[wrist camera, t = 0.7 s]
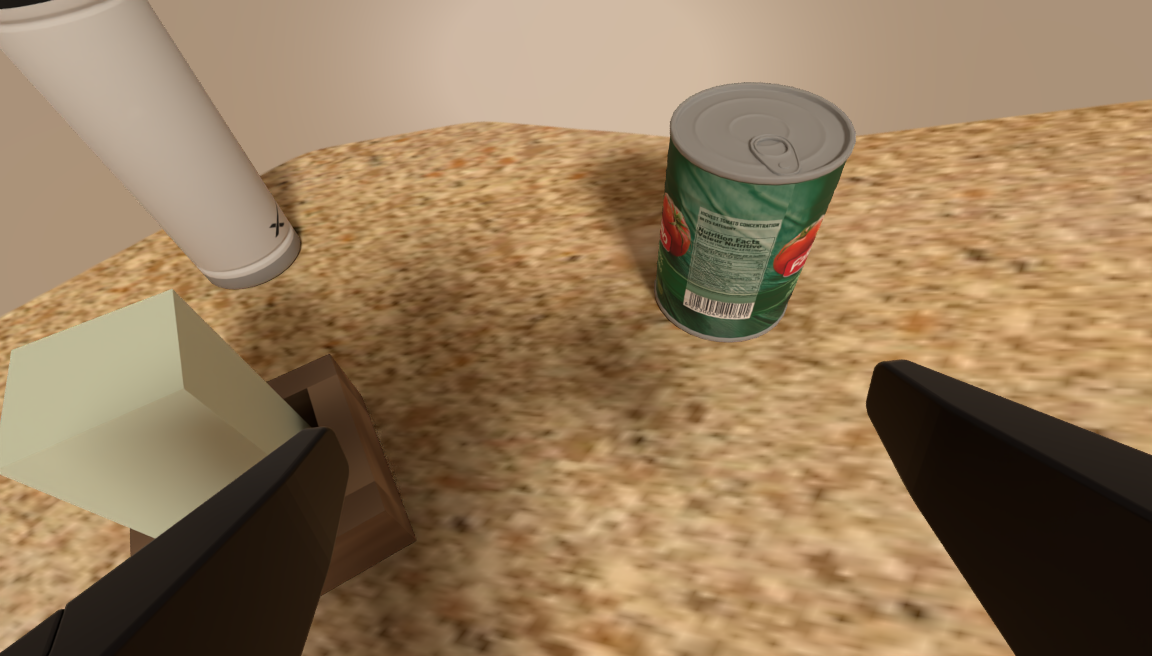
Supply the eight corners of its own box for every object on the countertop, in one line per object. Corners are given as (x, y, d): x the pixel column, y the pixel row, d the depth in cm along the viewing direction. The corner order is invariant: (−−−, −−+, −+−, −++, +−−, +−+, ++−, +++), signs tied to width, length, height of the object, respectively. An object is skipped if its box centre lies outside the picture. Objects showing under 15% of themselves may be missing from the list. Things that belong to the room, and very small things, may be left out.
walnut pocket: (416, 540, 23) (385, 510, 20) (207, 662, 20) (133, 650, 17) (361, 395, 28) (329, 353, 25) (187, 479, 25) (127, 444, 22)
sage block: (355, 524, 23) (184, 388, 14) (255, 579, 22) (-8, 471, 13) (331, 447, 26) (172, 288, 17) (240, 493, 25) (11, 350, 15)
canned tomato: (642, 255, 33) (652, 91, 25) (759, 240, 34) (810, 72, 25) (671, 352, 28) (697, 189, 20) (808, 333, 29) (892, 164, 20)
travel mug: (324, 245, 36) (99, -132, 20) (240, 305, 33) (-105, -87, 17) (272, 215, 38) (36, -142, 23) (190, 268, 35) (-151, -104, 19)
